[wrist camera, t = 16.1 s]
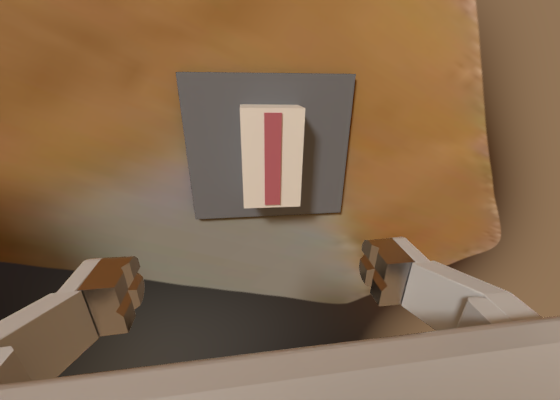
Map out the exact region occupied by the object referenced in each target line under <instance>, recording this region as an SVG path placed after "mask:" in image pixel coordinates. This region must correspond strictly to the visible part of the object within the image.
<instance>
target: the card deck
mask: <svg viewBox="0 0 560 400" xmlns="http://www.w3.org/2000/svg"><path fill="white" fill-rule="evenodd" d="M304 125H305V108H304V107H302V106H299V105H270V104H240V129H241V153H242V177H243V201H244V208H271V207H299V206H300V202H301V183H302V164H303V144H304Z"/></svg>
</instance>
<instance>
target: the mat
mask: <svg viewBox="0 0 560 400" xmlns="http://www.w3.org/2000/svg"><path fill="white" fill-rule="evenodd" d="M355 76H356V74H306V73H219V72H176V78H177V85H178V92H179V100H180V107H181V115H182V122H183V129H184V137H185V144H186V152H187V159H188V166H189V174H190V181H191V189H192V196H193V203H194V211H195V218H196V219H211V218H232V217H253V216H274V215H295V214H317V213H338V212H341V203H342V194H343V185H344V176H345V167H346V158H347V148H348V139H349V130H350V121H351V112H352V103H353V94H354V85H355ZM240 104H270V105H299V106H302V107H304V108H305V125H304V144H303V164H302V183H301V202H300V206H299V207H271V208H244V201H243V177H242V153H241V129H240Z"/></svg>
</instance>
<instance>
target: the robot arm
mask: <svg viewBox="0 0 560 400" xmlns="http://www.w3.org/2000/svg"><path fill="white" fill-rule="evenodd" d="M362 251H363V253H364V255H363V257H362V258H361V259H360V264H359V270H360V275H361V278H362V280H363V282H364V284H366V285H367V286H369V287H371V290H370V293H371V295H372V296H373V298H374V300H375V301H376V303H377V304H378V306H388V305H402V306H403V307H404V308H405V309H407V310H408V311H410V312H411V313H412V314H414V315H415V316H416V317H418V318H419V319H421V320H422V321H423V322H425V323H426V324H428V325H429V326H430V327H432V328H433V329H435V330H436V331H431V332H423V333H416V334H407V335H399V336H391V337H383V338H375V339H366V340H358V341H350V342H341V343H333V344H325V345H316V346H308V347H300V348H293V349H284V350H276V351H268V352H260V353H251V354H243V355H235V356H227V357H219V358H212V359H203V360H195V361H187V362H179V363H170V364H162V365H154V366H146V367H138V368H130V369H122V370H113V371H106V372H97V373H89V374H81V375H73V376H65V377H57V376H59V375H60V374H61V373H62V372H63V371H64V370H65V369H66V368H67V367H68V366H69V365H70V364H72V363H73V362H74V361H75V360H76V359H77V358H78V357H79V356H80V355H81V354H82V353H83V352H85V351H86V350H87V349H88V348H89V347H90V346H91V345H92V344H93V343H94V342H95V341H96V340H97V339H98V338H99V337H100V336H107V335H115V334H123V333H128V332H129V330H130V328H131V326H132V323H133V321H134V319H135V317H136V314H135V311H134V310H135V309H136V308H137V307H139V306H140V305H141V303H142V300H143V297H144V290H145V288H144V280H143V277H142V276H141V275H140V274H139V273H137V272H138V270H139V268H140V264H139V261H138V258H137V257H135V256H131V257H111V258H94V259H87V260H84V261H83V262H82V263H81V265H80V266H79V267H78V268H77V269H76V270H75V271H74V273H73V274H72V275H71V276H70V277H69V278H68V280H67V281H66V282H65V283H64V284H63V286H62V287H61V288H60V289H59V290H58V291H57V292H56V293H50V294H49V295H47V296H45V297H43V298H41V299H39V300H37V301H36V302H34V303H32V304H30V305H28V306H26V307H25V308H23V309H21V310H19V311H17V312H15V313H13V314H12V315H10V316H8V317H6V318H4V319H2V320H1V321H0V400H560V316H553V317H545V318H542V317H541V316H540V315H539V314H537V313H536V312H535V311H533V310H532V309H531V308H530V307H528V306H527V305H526V304H525V303H523V302H522V301H521V300H520V299H518V298H517V297H516V296H514V295H513V294H512V293H511V292H508V291H506V290H504V289H501V288H499V287H496V286H494V285H491V284H489V283H487V282H484V281H481V280H479V279H477V278H474V277H472V276H470V275H467V274H465V273H462V272H460V271H457V270H455V269H453V268H450V267H448V266H445V265H443V264H440V263H438V262H436V261H429V260H428V259H427V258H426V257H425V256H424V255H423V254H422V253H421V252H420V251H419V250H418V249H417V248H416V247H415V246H413V245H412V244H411V243H410V242H409V241H408V240H407V239H406V238H404V237H393V238H386V239H374V240H364V242H363V244H362Z"/></svg>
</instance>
